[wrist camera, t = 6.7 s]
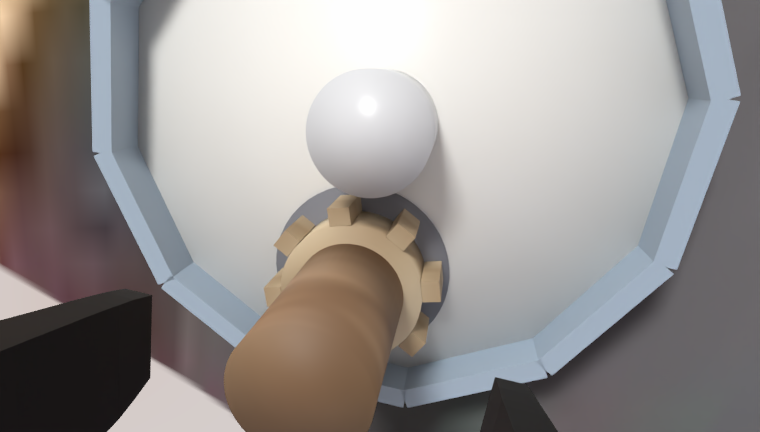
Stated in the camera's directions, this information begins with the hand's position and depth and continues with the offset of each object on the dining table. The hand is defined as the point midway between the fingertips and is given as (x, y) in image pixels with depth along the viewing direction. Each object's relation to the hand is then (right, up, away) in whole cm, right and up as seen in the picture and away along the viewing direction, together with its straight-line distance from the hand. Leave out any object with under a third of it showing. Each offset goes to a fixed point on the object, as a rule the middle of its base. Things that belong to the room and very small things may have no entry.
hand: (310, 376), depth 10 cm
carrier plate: (+2, +6, +5) cm, 8 cm away
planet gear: (+1, +1, +5) cm, 5 cm away
